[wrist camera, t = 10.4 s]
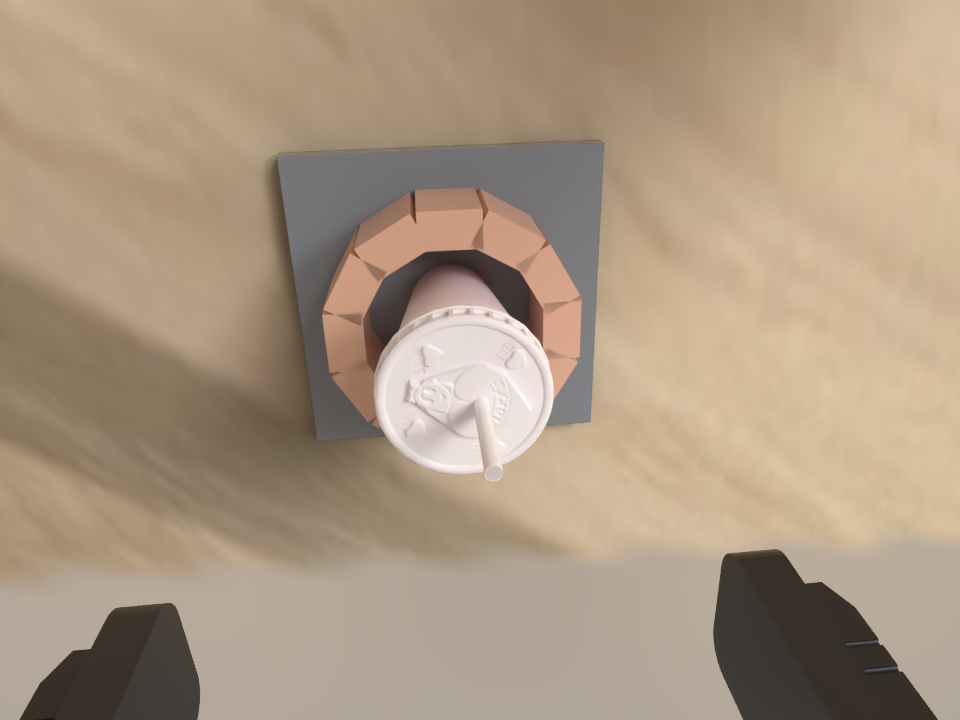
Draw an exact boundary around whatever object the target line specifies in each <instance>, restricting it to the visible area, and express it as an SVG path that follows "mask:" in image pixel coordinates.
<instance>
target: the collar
mask: <svg viewBox="0 0 960 720" xmlns="http://www.w3.org/2000/svg"><path fill="white" fill-rule="evenodd" d="M603 150H604V143H602V142H601V141H599V140H586V141H561V142H536V143H511V144H485V145H460V146H435V147H410V148H385V149H360V150H335V151H310V152H285V153H280V154H279V155H278V156H277V162H278V169H279V176H280V183H281V190H282V197H283V204H284V211H285V218H286V225H287V232H288V239H289V246H290V253H291V260H292V267H293V274H294V281H295V288H296V295H297V302H298V309H299V316H300V323H301V330H302V337H303V344H304V351H305V358H306V365H307V372H308V379H309V386H310V393H311V400H312V407H313V414H314V421H315V427H316V434H317V441H321V440H336V439H350V438H365V437H380V436H386V435H385V434H384V432H383V430H382V428H381V426H380V424H379V421H378V418H377V414H376V410H375V399H374V374H375V371H376V368H377V365H378V362H379V359H380V356H381V353H382V352H383V350H384V349H385V347H386V346H387V345H388V343H389V342H390V340H391V339H392V337H393V336H394V335H395V334H396V333H397V332H398V331H399V328H400V326H401V323H402V320H403V317H404V315H405V312H406V309H407V306H408V304H409V301H410V298H411V295H412V292H413V290H414V287H415V285H416V283H417V282H418V280H419V279H420V278H421V277H422V276H423V275H424V274H425V273H426V272H428V271H429V270H431V269H433V268H435V267H437V266H441V265H446V264H457V265H462V266H465V267H467V268H470V269H471V270H473V271H475V272H476V273H477V274H478V275H479V276H480V277H481V278H482V279H483V280H484V282H485V283H486V284H487V286H488V287H489V289H490V290H491V291H492V293H493V294H494V295H495V297H496V298H497V299H498V301H499V302H500V303H501V305H502V306H503V307H504V309H505V310H506V312H507V313H508V314H509V316H511V317H512V318H514V319H516V320H517V321H519V322H520V323H522V324H524V325H525V326H526V327H527V328H528V329H529V331H530V332H531V333H532V334H533V335H534V336H535V337H536V338H537V339H538V340H539V342H540V344H541V346H542V348H543V350H544V352H545V354H546V356H547V358H548V361H549V367H550V371H551V374H552V378H553V385H554V399H553V406H552V410H551V413H550V416H549V419H548V421H547V423H546V425H556V424H571V423H586V422H590V421H591V400H592V379H593V358H594V338H595V317H596V296H597V275H598V254H599V233H600V212H601V192H602V171H603Z"/></svg>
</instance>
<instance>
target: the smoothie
mask: <svg viewBox="0 0 960 720" xmlns="http://www.w3.org/2000/svg"><path fill="white" fill-rule="evenodd" d="M374 399H375V410H376V414H377V418H378V421H379V424H380V426H381V428H382V430H383V432H384V434H385V435H386V437H387V439H388V440H389V441H390V442H391V444H392V445H393V446H394V447H395V448H396V449H397V450H398V451H399V452H400V453H401V454H403V455H404V456H405V457H407V458H408V459H409V460H411V461H413V462H415V463H416V464H418V465H421V466H423V467H425V468H428V469H431V470H434V471H438V472H443V473H450V474H472V473H479V472H484V473H485V477H486V478H487V479H488V480H490V481H497V480H499V479H501V478H502V476H503V468H502V465H504V464H506V463H508V462H510V461H512V460H513V459H515V458H516V457H518V456H519V455H521V454H522V453H523V452H524V451H526V450H527V449H528V448H529V447H530V446H531V445H532V444H533V443H534V442H535V440H536V439H537V438H538V437H539V435H540V434H541V432H542V431H543V429H544V427H545V425H546V423H547V421H548V419H549V416H550V413H551V410H552V406H553V399H554V385H553V378H552V374H551V371H550V367H549V361H548V358H547V356H546V354H545V352H544V350H543V348H542V346H541V344H540V342H539V340H538V339H537V338H536V337H535V336H534V335H533V334H532V333H531V332H530V331H529V329H528V328H527V327H526V326H525V325H524V324H522V323H520V322H519V321H517V320H516V319H514V318H512V317H511V316H509V314H508V313H507V312H506V310H505V309H504V307H503V306H502V305H501V303H500V302H499V301H498V299H497V298H496V297H495V295H494V294H493V293H492V291H491V290H490V289H489V287H488V286H487V284H486V283H485V282H484V280H483V279H482V278H481V277H480V276H479V275H478V274H477V273H476V272H475V271H473V270H471V269H470V268H467V267H465V266H462V265H457V264H446V265H441V266H437V267H435V268H433V269H431V270H429V271H428V272H426V273H425V274H424V275H423V276H422V277H421V278H420V279H419V280H418V282H417V283H416V285H415V287H414V290H413V292H412V295H411V298H410V301H409V304H408V306H407V309H406V312H405V315H404V317H403V320H402V323H401V326H400V328H399V331H398V332H397V333H396V334H395V335H394V336H393V337H392V339H391V340H390V342H389V343H388V345H387V346H386V347H385V349H384V350H383V352H382V353H381V356H380V359H379V362H378V365H377V368H376V371H375V374H374Z"/></svg>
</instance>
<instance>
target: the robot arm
mask: <svg viewBox="0 0 960 720" xmlns="http://www.w3.org/2000/svg"><path fill="white" fill-rule="evenodd" d="M713 635H714V646H715V652H716V656H717V660H718V664H719V667H720V669H721V672H722V674H723V677H724V679H725V681H726V683H727V685H728V688H729V689H730V691H731V694H732V696H733V698H734V701H735V703H736V705H737V707H738V709H739V711H740V714H741V716H742V718H743V720H938V719H937V718H936V716H935V715H934V714H933V712H932V711H931V710H930V708H929V707H928V705H927V704H926V703H925V701H924V700H923V699H922V697H921V696H920V695H919V693H918V692H917V691H916V689H915V688H914V687H913V685H912V684H911V683H910V681H909V680H908V678H907V677H906V676H905V674H904V673H903V672H899V670H898V667H897V664H896V662H895V661H894V660H893V658H892V657H891V655H890V654H889V653H888V651H887V650H886V649H885V647H884V646H883V645H880V644H879V642H878V638H877V636H876V635H875V634H874V632H873V631H872V630H871V628H870V627H869V626H868V624H867V623H866V621H865V620H864V619H863V617H862V616H861V615H860V613H859V612H858V611H857V609H856V608H855V607H854V606H853V605H851V604H850V603H849V602H847V601H846V600H845V599H843V598H842V597H841V596H839V595H838V594H837V593H835V592H834V591H833V590H831V589H830V588H829V587H827V586H826V585H825V584H823V583H822V582H818V583H807V584H805V583H804V582H803V581H802V579H801V578H800V576H799V575H798V573H797V572H796V570H795V569H794V567H793V566H792V564H791V563H790V561H789V560H788V559H787V557H786V556H785V555H784V554H783V553H782V552H781V551H780V550H777V549H772V550H761V551H750V552H740V553H729V554H726V555H725V556H724V558H723V561H722V566H721V574H720V582H719V590H718V597H717V606H716V613H715V620H714V630H713ZM199 704H200V686H199V678H198V675H197V671H196V668H195V665H194V661H193V658H192V655H191V652H190V649H189V645H188V642H187V639H186V636H185V633H184V629H183V626H182V623H181V620H180V617H179V614H178V611H177V609H176V607H175V606H174V605H173V604H171V603H164V604H153V605H143V606H132V607H121V608H116V609H114V610H113V611H112V612H111V613H110V614H109V615H108V617H107V619H106V621H105V623H104V624H103V627H102V628H101V630H100V632H99V634H98V636H97V638H96V640H95V642H94V644H93V646H92V648H91V649H88V650H78V651H77V650H76V651H73V652H71V653H70V654H69V655H68V656H67V657H66V659H64V660H63V661H62V662H61V663H60V664H59V665H58V666H57V667H56V668H55V669H54V670H53V671H52V672H51V673H50V674H49V676H47V677H46V678H45V679H44V680H43V681H42V682H41V683H40V684H39V686H38V688H37V690H36V692H35V693H34V695H33V697H32V699H31V700H30V702H29V704H28V706H27V708H26V709H25V711H24V713H23V715H22V716H21V718H20V720H197V718H198V713H199Z"/></svg>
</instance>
